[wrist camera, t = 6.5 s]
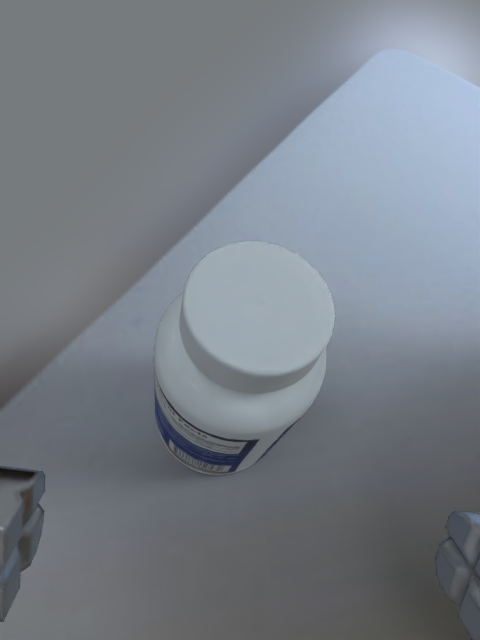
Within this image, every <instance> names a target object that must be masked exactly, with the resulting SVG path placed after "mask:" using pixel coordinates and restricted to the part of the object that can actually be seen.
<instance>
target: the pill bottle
mask: <svg viewBox="0 0 480 640" xmlns="http://www.w3.org/2000/svg"><path fill="white" fill-rule="evenodd" d="M334 324H335V308H334V303H333V299H332V296H331V293H330V291H329V288H328V286H327V284H326V283H325V281H324V279H323V278H322V276H321V275H320V274H319V273H318V271H317V270H316V269H315V268H314V267H313V266H312V265H311V264H309V263H308V262H307V261H306V260H305V259H304V258H302V257H301V256H299V255H298V254H296V253H294V252H293V251H291V250H289V249H286V248H283V247H281V246H279V245H275V244H272V243H266V242H261V241H241V242H235V243H231V244H227V245H224V246H221V247H219V248H217V249H215V250H213V251H212V252H210V253H208V254H207V255H206V256H204V257H203V258H202V259H201V260H200V261H199V262H198V263H197V264H196V265H195V267H194V268H193V269H192V271H191V273H190V274H189V276H188V278H187V281H186V283H185V286H184V290H183V292H182V293H181V294H179V295H178V296H177V297H176V298H175V299H174V301H173V302H172V303H171V304H170V306H169V307H168V308H167V310H166V311H165V313H164V315H163V317H162V319H161V321H160V324H159V327H158V330H157V333H156V338H155V345H154V383H155V415H156V423H157V427H158V431H159V434H160V436H161V439H162V441H163V443H164V445H165V446H166V448H167V449H168V450H169V452H170V453H171V454H172V455H173V456H174V457H175V458H176V459H177V460H178V461H179V462H181V463H182V464H183V465H185V466H187V467H189V468H190V469H192V470H195V471H197V472H200V473H204V474H209V475H229V474H233V473H236V472H239V471H242V470H244V469H246V468H248V467H250V466H251V465H253V464H254V463H256V462H257V461H258V460H260V459H261V458H262V457H263V456H264V455H265V454H266V453H267V452H268V451H269V450H270V449H271V448H272V447H273V446H274V445H275V444H276V443H277V442H278V441H279V440H280V439H281V437H282V436H283V435H284V434H285V433H286V432H287V431H288V430H289V429H290V428H291V427H292V426H293V425H294V424H295V423H296V422H297V421H298V420H299V419H300V418H301V417H302V416H303V415H304V414H305V413H306V411H307V410H308V409H309V408H310V406H311V405H312V403H313V402H314V400H315V398H316V397H317V395H318V393H319V391H320V389H321V386H322V383H323V380H324V376H325V371H326V362H327V359H326V346H327V345H328V343H329V341H330V339H331V336H332V333H333V329H334Z"/></svg>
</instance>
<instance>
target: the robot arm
mask: <svg viewBox="0 0 480 640" xmlns="http://www.w3.org/2000/svg"><path fill="white" fill-rule="evenodd" d="M44 492H45V474H44V472H43V471H37V470H29V469H20V468H12V467H3V466H0V622H4V619H5V617H6V615H7V613H8V611H9V609H10V607H11V605H12V603H13V601H14V599H15V597H16V594H17V592H18V590H19V588H20V576H21V572H22V571H23V570H25V569H26V568H28V567H29V566H30V565H31V563H32V560H33V558H34V556H35V554H36V551H37V548H38V544H39V541H40V538H41V534H42V528H43V521H44V510H43V509H42V507H41V506H40V505H39V501H40V499H41V498H42V496H43V494H44ZM445 528H446V530H447V532H448V535H449V537H448V538H447V539H445V540H444V541H443V542H442V543H441V544H439V547H438V550H437V554H436V557H435V565H436V575H437V578H438V581H439V585H440V586H441V588H442V590H443V592H444V594H445V595H446V597H448V598H449V599H450V600H451V601H453V602H454V603H455V604H456V605H458V606H459V613H458V618H459V620H460V621H461V623H462V625H463V626H464V628H465V630H466V632H467V633H468V635H469V637H470V638H471V640H480V513H477V512H465V511H453V513H452V514H451V515H450V516H449V517H448V520H447V523H446V526H445Z"/></svg>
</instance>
